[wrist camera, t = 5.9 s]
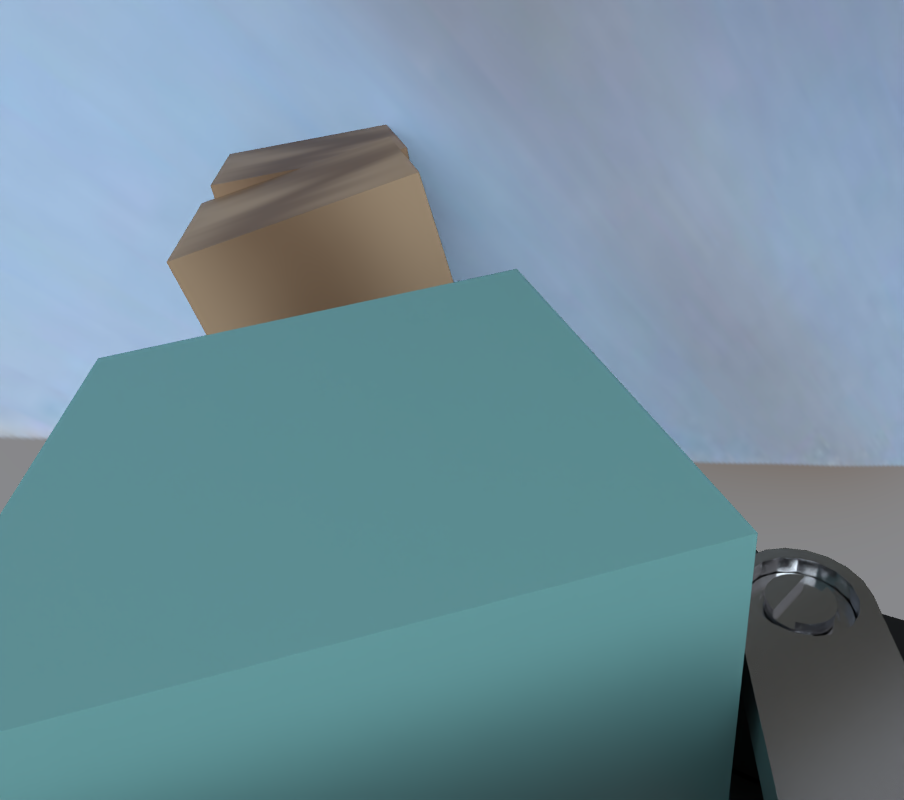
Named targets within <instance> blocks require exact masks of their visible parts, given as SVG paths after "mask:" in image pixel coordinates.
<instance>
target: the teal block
mask: <svg viewBox="0 0 904 800" xmlns="http://www.w3.org/2000/svg"><path fill="white" fill-rule="evenodd" d="M757 534H758V533H757V532H756V531H755V530H754V529H753V527H751V525H750V524H749V523H748V522H747V521H746V520H745V519H744V518H743V517H742V515H741V514H740V513H739V512H738V511H737V510H736V509H735V508H734V507H733V506H732V505H731V503H730V502H729V501H728V500H727V499H726V498H725V497H724V496H723V495H722V494H721V492H720V491H719V490H718V489H717V488H716V487H715V486H714V485H713V484H712V483H711V482H710V480H709V479H708V478H707V477H706V476H705V475H704V474H703V473H702V472H701V471H700V469H699V468H698V467H697V466H696V465H695V464H694V463H693V462H692V461H691V460H690V458H689V457H688V456H687V455H686V454H685V453H684V452H683V451H682V450H681V449H680V447H679V446H678V445H677V444H676V443H675V442H674V441H673V440H672V439H671V438H670V437H669V435H668V434H667V433H666V432H665V431H664V430H663V429H662V428H661V427H660V426H659V424H658V423H657V422H656V421H655V420H654V419H653V418H652V417H651V416H650V415H649V414H648V412H647V411H646V410H645V409H644V408H643V407H642V406H641V405H640V404H639V403H638V401H637V400H636V399H635V398H634V397H633V396H632V395H631V394H630V393H629V392H628V391H627V389H626V388H625V387H624V386H623V385H622V384H621V383H620V382H619V381H618V380H617V378H616V377H615V376H614V375H613V374H612V373H611V372H610V371H609V370H608V369H607V367H606V366H605V365H604V364H603V363H602V362H601V361H600V360H599V359H598V358H597V357H596V355H595V354H594V353H593V352H592V351H591V350H590V349H589V348H588V347H587V346H586V344H585V343H584V342H583V341H582V340H581V339H580V338H579V337H578V336H577V335H576V334H575V332H574V331H573V330H572V329H571V328H570V327H569V326H568V325H567V324H566V323H565V321H564V320H563V319H562V318H561V317H560V316H559V315H558V314H557V313H556V312H555V310H554V309H553V308H552V307H551V306H550V305H549V304H548V303H547V302H546V301H545V300H544V298H543V297H542V296H541V295H540V294H539V293H538V292H537V291H536V290H535V289H534V287H533V286H532V285H531V284H530V283H529V282H528V281H527V280H526V279H525V278H524V277H523V275H522V274H521V273H520V272H519V271H518V270H517V269H514V270H509V271H505V272H500V273H495V274H491V275H486V276H481V277H477V278H472V279H467V280H463V281H458V282H453V283H449V284H444V285H439V286H435V287H430V288H425V289H421V290H416V291H411V292H406V293H402V294H397V295H392V296H388V297H383V298H378V299H374V300H369V301H364V302H360V303H355V304H350V305H346V306H341V307H336V308H332V309H327V310H322V311H318V312H313V313H308V314H304V315H299V316H294V317H290V318H285V319H280V320H275V321H271V322H266V323H261V324H257V325H252V326H247V327H243V328H238V329H233V330H229V331H224V332H219V333H215V334H210V335H205V336H201V337H196V338H191V339H187V340H182V341H177V342H173V343H168V344H163V345H159V346H154V347H149V348H144V349H140V350H135V351H130V352H126V353H121V354H116V355H112V356H107V357H102V358H98V359H97V361H96V363H95V364H94V366H93V367H92V369H91V371H90V372H89V374H88V375H87V377H86V379H85V380H84V382H83V383H82V385H81V387H80V388H79V390H78V391H77V393H76V394H75V396H74V398H73V399H72V401H71V402H70V404H69V406H68V407H67V409H66V410H65V412H64V414H63V415H62V417H61V418H60V420H59V422H58V423H57V425H56V426H55V428H54V429H53V431H52V433H51V434H50V436H49V437H48V439H47V441H46V442H45V444H44V446H43V447H42V449H41V450H40V452H39V453H38V455H37V457H36V458H35V460H34V461H33V463H32V464H31V466H30V468H29V469H28V471H27V473H26V474H25V476H24V477H23V479H22V481H21V482H20V484H19V486H18V487H17V488H16V490H15V492H14V493H13V495H12V496H11V498H10V499H9V501H8V503H7V504H6V506H5V507H4V509H3V511H2V512H1V514H0V800H728V799H729V790H730V781H731V772H732V763H733V754H734V744H735V735H736V726H737V717H738V708H739V699H740V690H741V680H742V671H743V662H744V653H745V644H746V635H747V626H748V616H749V607H750V598H751V589H752V580H753V571H754V562H755V552H756V543H757Z"/></svg>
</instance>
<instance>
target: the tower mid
mask: <svg viewBox="0 0 904 800" xmlns="http://www.w3.org/2000/svg"><path fill="white" fill-rule="evenodd" d="M167 264H168V265H169V267H170V269H171V271H172V273H173V275H174V276H175V278H176V280H177V282H178V284H179V285H180V287H181V289H182V291H183V293H184V295H185V296H186V298H187V300H188V302H189V304H190V305H191V307H192V309H193V311H194V313H195V315H196V316H197V318H198V320H199V322H200V324H201V326H202V327H203V329H204V331H205V333H206V335H210V334H215V333H219V332H224V331H229V330H233V329H238V328H243V327H247V326H252V325H257V324H261V323H266V322H271V321H275V320H280V319H285V318H290V317H294V316H299V315H304V314H308V313H313V312H318V311H322V310H327V309H332V308H336V307H341V306H346V305H350V304H355V303H360V302H364V301H369V300H374V299H378V298H383V297H388V296H392V295H397V294H402V293H406V292H411V291H416V290H421V289H425V288H430V287H435V286H439V285H444V284H449V283H453V279H452V276H451V273H450V270H449V266H448V263H447V260H446V257H445V254H444V251H443V247H442V244H441V241H440V238H439V235H438V231H437V228H436V225H435V222H434V219H433V216H432V212H431V209H430V206H429V203H428V200H427V197H426V193H425V190H424V187H423V184H422V181H421V178H420V174H419V172H418V171H417V169H416V168H415V167H414V166H413V164H412V163H411V162H410V161H409V160H408V158H407V157H406V156H405V155H404V154H403V152H402V151H401V150H400V149H399V148H398V146H397V145H396V144H395V143H394V141H393V140H392V139H391V138H390V137H387V138H384V139H381V140H378V141H376V142H373V143H370V144H367V145H364V146H362V147H359V148H356V149H353V150H350V151H348V152H345V153H342V154H339V155H336V156H333V157H331V158H328V159H325V160H322V161H319V162H317V163H314V164H311V165H308V166H305V167H303V168H300V169H297V170H294V171H291V172H288V173H286V174H283V175H280V176H277V177H274V178H272V179H269V180H266V181H263V182H260V183H258V184H255V185H252V186H249V187H246V188H244V189H241V190H238V191H235V192H232V193H229V194H227V195H224V196H221V197H218V198H215V199H213V200H210V201H207V202H204V203H202V204H201V206H200V207H199V209H198V211H197V212H196V214H195V216H194V217H193V219H192V221H191V222H190V224H189V226H188V227H187V229H186V231H185V232H184V234H183V236H182V237H181V239H180V241H179V242H178V244H177V246H176V247H175V249H174V251H173V252H172V254H171V256H170V257H169V259H168V261H167Z"/></svg>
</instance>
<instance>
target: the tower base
mask: <svg viewBox="0 0 904 800" xmlns="http://www.w3.org/2000/svg"><path fill="white" fill-rule="evenodd" d="M387 137H390V138H391V139H392V140H393V141H394V143H395V144H396V145H397V146H398V148H399V149H400V150H401V151H402V152H403V154H404V155H405V156H406V157H407V158H408V160H409V156H408V151H407V147H406V146H405V145H404V144H403V143H402V142H401V141H400V139H399V138H398V137H397V136H396V135H395V134H394V133H393V132H392V131H391V129H390V128H389V127H388V126H387V125H382V126H377V127H371V128H366V129H361V130H356V131H350V132H345V133H340V134H334V135H329V136H324V137H318V138H313V139H308V140H303V141H297V142H292V143H287V144H281V145H276V146H271V147H266V148H260V149H255V150H250V151H244V152H239V153H234V154H230V155H229V156H228V158H227V160H226V161H225V163H224V165H223V166H222V168H221V169H220V171H219V173H218V174H217V176H216V178H215V179H214V181H213V183H212V184H211V188H212V191H213V194H214V198H218V197H221V196H224V195H227V194H229V193H232V192H235V191H238V190H241V189H244V188H246V187H249V186H252V185H255V184H258V183H260V182H263V181H266V180H269V179H272V178H274V177H277V176H280V175H283V174H286V173H288V172H291V171H294V170H297V169H300V168H303V167H305V166H308V165H311V164H314V163H317V162H319V161H322V160H325V159H328V158H331V157H333V156H336V155H339V154H342V153H345V152H348V151H350V150H353V149H356V148H359V147H362V146H364V145H367V144H370V143H373V142H376V141H378V140H381V139H384V138H387Z"/></svg>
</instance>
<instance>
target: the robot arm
mask: <svg viewBox="0 0 904 800" xmlns="http://www.w3.org/2000/svg"><path fill="white" fill-rule="evenodd" d="M728 800H904V620H900V619H897V618H894V617H890V616H887V615H883V614H882V613H881V611H880V609H879V607H878V604H877V602H876V600H875V598H874V596H873V594H872V593H871V591H870V590H869V589H868V587H867V586H866V584H865V583H864V581H863V580H862V579H861V578H859V577H858V576H857V575H856V574H855V573H853V572H852V571H851V570H850V569H849V568H847V567H846V566H843V565H842V564H840V563H838V562H836V561H834V560H832V559H830V558H829V557H826V556H823V555H820V554H816V553H813V552H810V551H807V550H798V549H789V548H780V549H770V550H764V551H762V552H758V551H757V550H756V552H755V562H754V571H753V580H752V589H751V598H750V607H749V616H748V626H747V635H746V644H745V653H744V662H743V671H742V680H741V690H740V699H739V708H738V717H737V726H736V735H735V744H734V754H733V763H732V772H731V781H730V790H729V799H728Z"/></svg>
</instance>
